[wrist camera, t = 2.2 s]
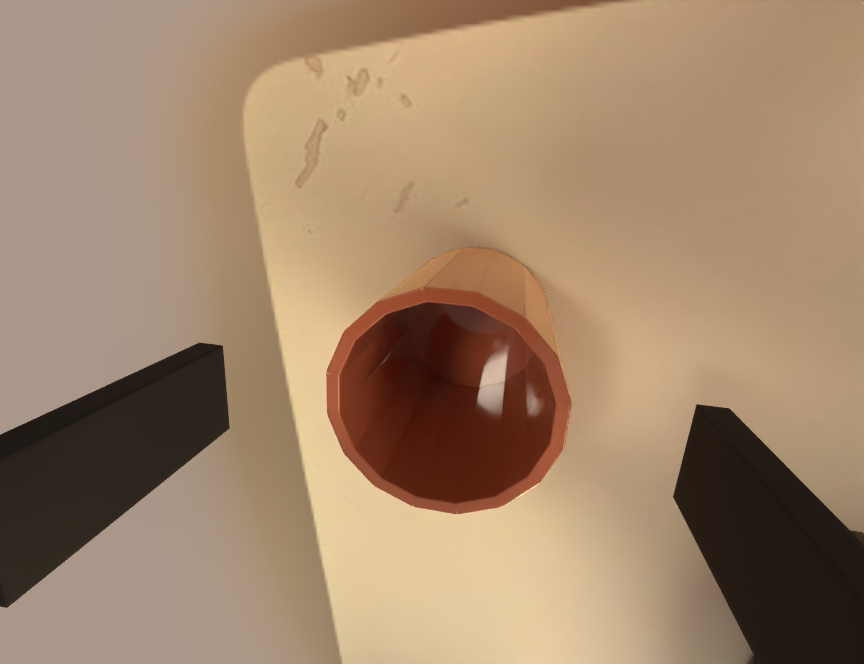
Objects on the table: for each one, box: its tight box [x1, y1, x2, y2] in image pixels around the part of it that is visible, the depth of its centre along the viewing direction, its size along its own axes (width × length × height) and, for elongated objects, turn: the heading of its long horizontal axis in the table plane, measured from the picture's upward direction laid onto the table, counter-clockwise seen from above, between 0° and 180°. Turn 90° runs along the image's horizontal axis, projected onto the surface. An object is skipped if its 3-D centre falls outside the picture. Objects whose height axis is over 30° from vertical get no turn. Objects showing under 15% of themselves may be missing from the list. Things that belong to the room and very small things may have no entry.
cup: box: [327, 248, 571, 514], centre depth 17 cm, size 7×7×9 cm
